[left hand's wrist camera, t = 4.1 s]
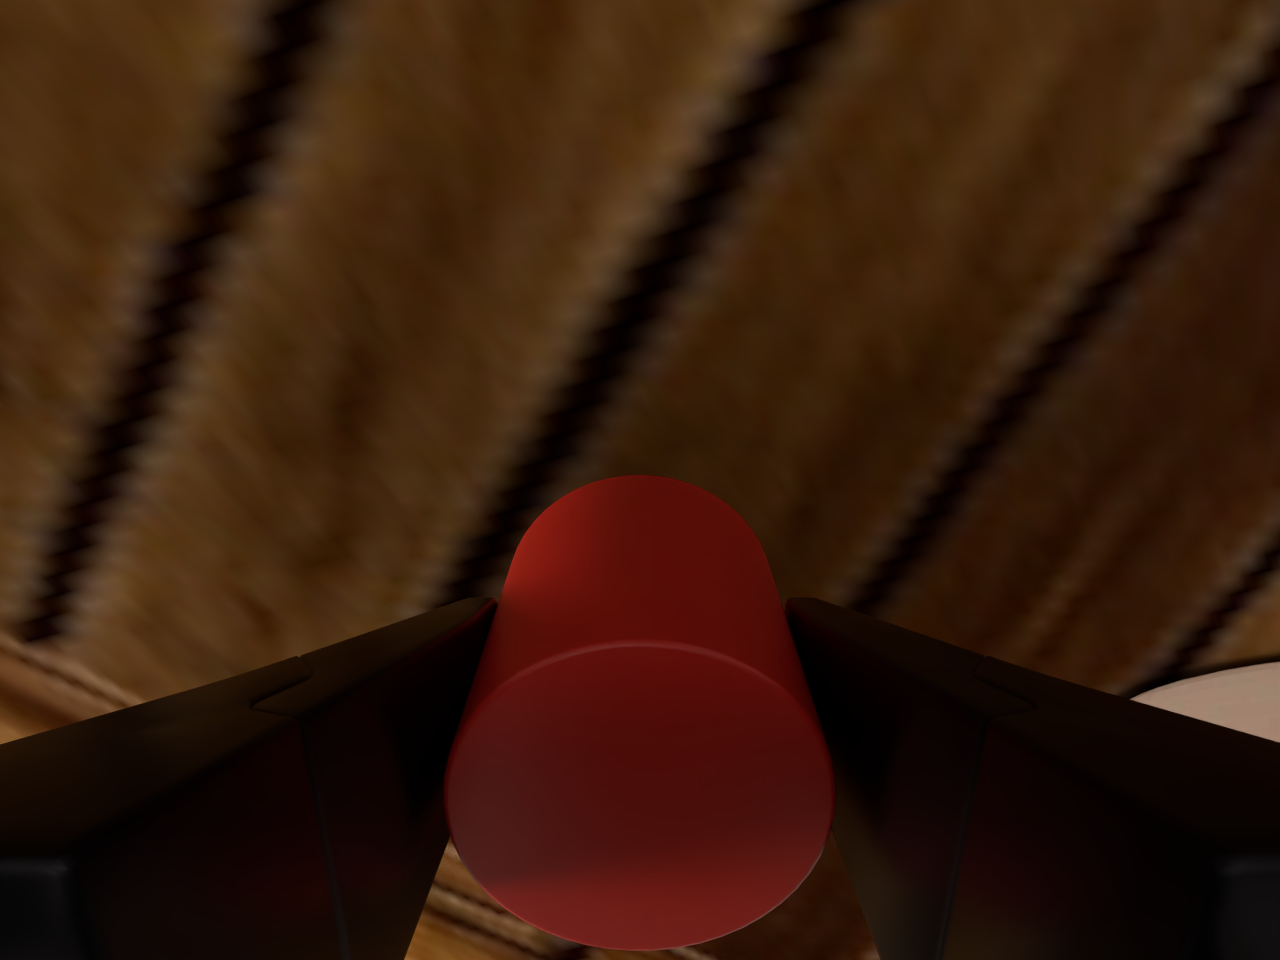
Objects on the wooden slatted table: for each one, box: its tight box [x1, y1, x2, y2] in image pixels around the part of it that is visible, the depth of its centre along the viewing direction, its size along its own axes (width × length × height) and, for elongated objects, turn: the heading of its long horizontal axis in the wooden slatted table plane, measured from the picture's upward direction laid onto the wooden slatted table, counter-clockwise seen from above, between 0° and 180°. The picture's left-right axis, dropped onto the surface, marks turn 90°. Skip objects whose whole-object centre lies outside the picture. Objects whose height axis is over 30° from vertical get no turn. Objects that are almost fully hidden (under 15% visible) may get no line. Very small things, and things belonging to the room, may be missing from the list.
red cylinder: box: [443, 475, 837, 951], centre depth 10 cm, size 4×4×4 cm
